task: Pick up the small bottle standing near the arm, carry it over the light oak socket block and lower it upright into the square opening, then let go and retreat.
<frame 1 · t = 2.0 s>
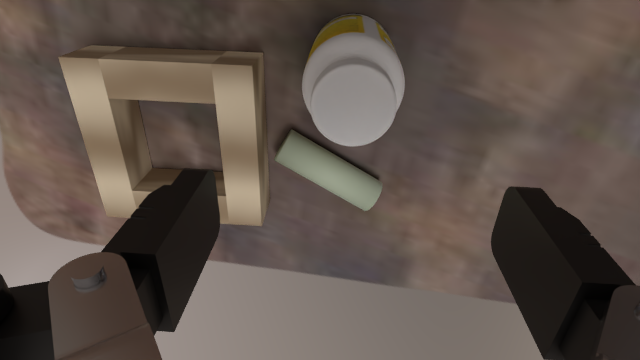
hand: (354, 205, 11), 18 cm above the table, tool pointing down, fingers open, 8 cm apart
socket block: (188, 130, 30), on the table
lying dowel: (332, 159, 30), on the table, tilted 17°
supplement bottle: (351, 55, 26), on the table
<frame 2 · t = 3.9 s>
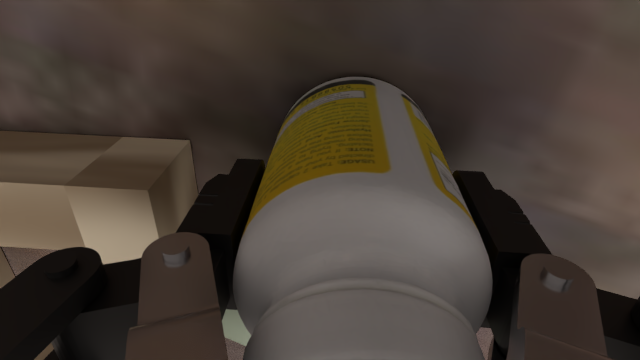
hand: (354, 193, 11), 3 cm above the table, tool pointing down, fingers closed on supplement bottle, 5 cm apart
socket block: (77, 255, 18), on the table
lying dowel: (317, 312, 18), on the table, tilted 61°
supplement bottle: (353, 145, 14), on the table, touching gripper
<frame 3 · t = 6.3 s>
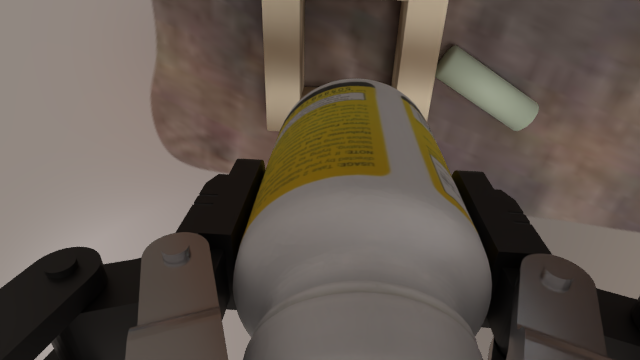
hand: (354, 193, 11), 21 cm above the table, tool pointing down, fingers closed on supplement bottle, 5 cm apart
socket block: (350, 44, 30), on the table
lying dowel: (489, 76, 30), on the table, tilted 40°
supplement bottle: (353, 147, 14), point 18 cm above the table, touching gripper
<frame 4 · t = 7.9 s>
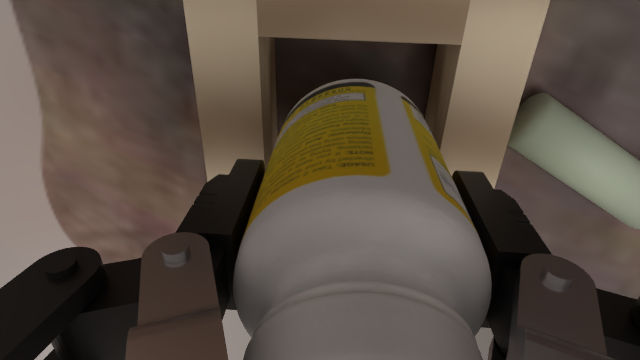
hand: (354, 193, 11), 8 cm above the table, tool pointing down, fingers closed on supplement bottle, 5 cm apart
socket block: (351, 104, 18), on the table
lying dowel: (574, 152, 19), on the table
supplement bottle: (353, 147, 14), point 5 cm above the table, touching gripper
when the fingers open (4 cm above the table, at t = 9.0 s): supplement bottle drops 1 cm, resting in socket block.
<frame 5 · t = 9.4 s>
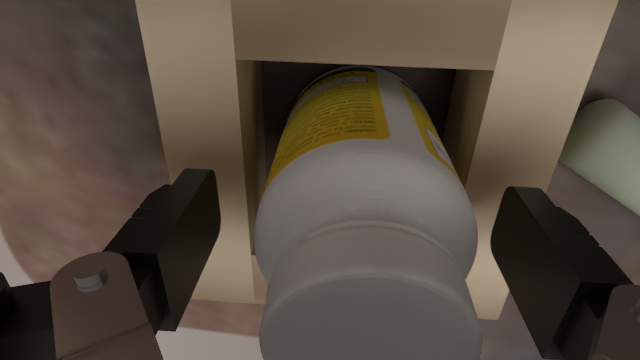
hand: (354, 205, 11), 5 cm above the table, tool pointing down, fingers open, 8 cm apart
socket block: (352, 132, 15), on the table
lying dowel: (624, 194, 16), on the table, tilted 53°
supplement bottle: (356, 130, 16), resting in socket block
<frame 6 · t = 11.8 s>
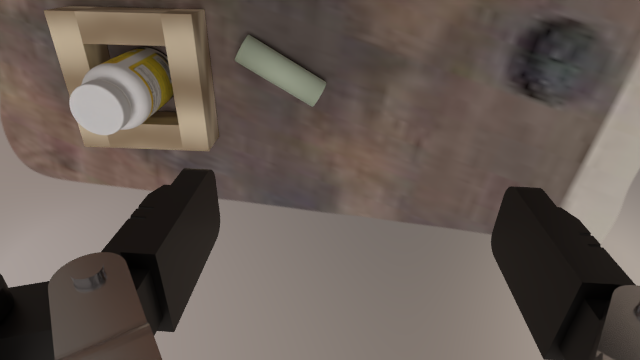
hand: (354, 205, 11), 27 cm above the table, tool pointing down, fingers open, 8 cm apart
socket block: (150, 76, 37), on the table
lying dowel: (278, 77, 34), point 2 cm above the table, tilted 171°
supplement bottle: (152, 75, 37), resting in socket block
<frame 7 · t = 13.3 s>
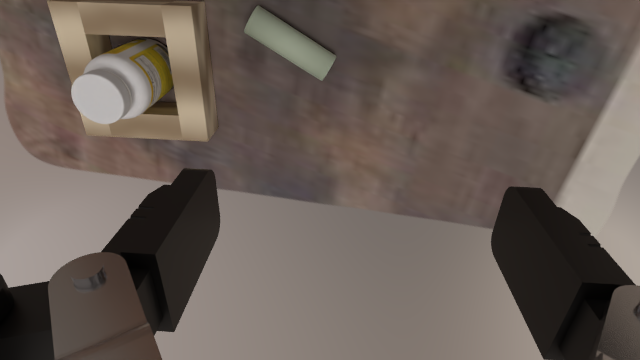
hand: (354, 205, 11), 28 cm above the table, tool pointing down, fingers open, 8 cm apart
socket block: (151, 66, 38), on the table
lying dowel: (298, 31, 34), point 1 cm above the table, tilted 88°
supplement bottle: (153, 66, 38), resting in socket block
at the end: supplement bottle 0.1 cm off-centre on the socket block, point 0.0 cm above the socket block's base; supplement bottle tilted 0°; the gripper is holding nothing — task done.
